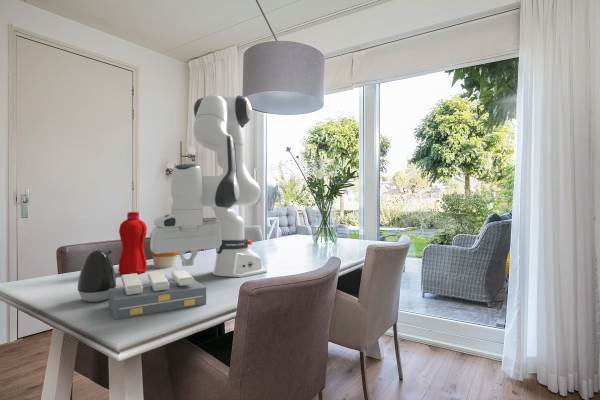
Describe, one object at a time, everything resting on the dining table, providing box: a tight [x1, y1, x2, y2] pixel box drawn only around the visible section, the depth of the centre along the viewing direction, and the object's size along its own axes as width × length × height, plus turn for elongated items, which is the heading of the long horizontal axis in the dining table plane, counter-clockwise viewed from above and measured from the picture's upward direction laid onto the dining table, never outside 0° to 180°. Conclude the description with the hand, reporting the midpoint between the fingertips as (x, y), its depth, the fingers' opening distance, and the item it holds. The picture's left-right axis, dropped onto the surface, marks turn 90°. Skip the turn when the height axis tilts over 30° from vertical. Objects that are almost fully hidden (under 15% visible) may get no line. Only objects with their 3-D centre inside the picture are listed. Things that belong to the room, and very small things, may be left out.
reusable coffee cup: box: [149, 232, 179, 269], centre depth 158 cm, size 13×13×15 cm
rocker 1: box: [121, 273, 143, 295], centre depth 98 cm, size 4×9×2 cm, turn 35°
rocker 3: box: [171, 269, 195, 286], centre depth 106 cm, size 4×9×2 cm, turn 35°
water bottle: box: [118, 211, 148, 275], centre depth 144 cm, size 9×11×25 cm
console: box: [108, 279, 207, 320], centre depth 102 cm, size 24×13×6 cm, turn 125°
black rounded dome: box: [77, 249, 117, 303], centre depth 107 cm, size 10×10×15 cm
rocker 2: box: [147, 270, 170, 291], centre depth 102 cm, size 4×9×2 cm, turn 35°
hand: (187, 265), depth 104 cm, fingers closed
